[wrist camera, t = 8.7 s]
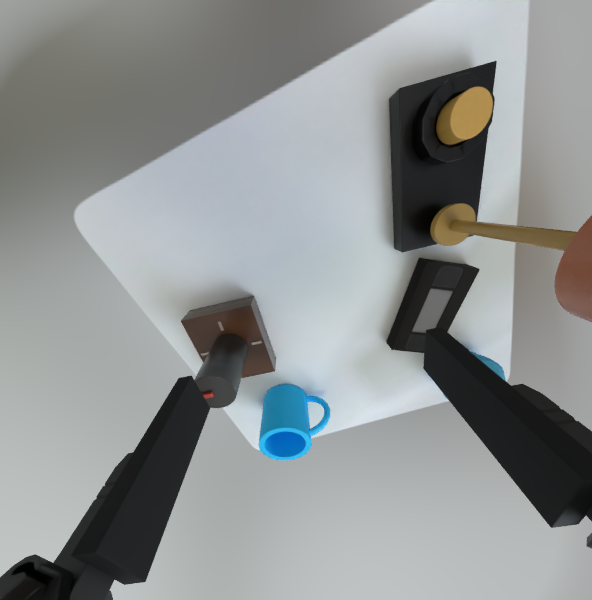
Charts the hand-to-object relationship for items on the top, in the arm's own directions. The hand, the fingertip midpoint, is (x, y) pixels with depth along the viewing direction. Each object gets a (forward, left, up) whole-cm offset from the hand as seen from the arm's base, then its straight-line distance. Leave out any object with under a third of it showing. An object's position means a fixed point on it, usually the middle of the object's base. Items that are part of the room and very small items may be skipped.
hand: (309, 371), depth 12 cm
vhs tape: (+10, +18, -20) cm, 28 cm away
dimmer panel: (+8, -12, -19) cm, 24 cm away
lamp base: (-8, +18, -19) cm, 28 cm away
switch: (-12, +18, -16) cm, 27 cm away
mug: (+24, -6, -20) cm, 32 cm away
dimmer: (+8, -12, -16) cm, 22 cm away
